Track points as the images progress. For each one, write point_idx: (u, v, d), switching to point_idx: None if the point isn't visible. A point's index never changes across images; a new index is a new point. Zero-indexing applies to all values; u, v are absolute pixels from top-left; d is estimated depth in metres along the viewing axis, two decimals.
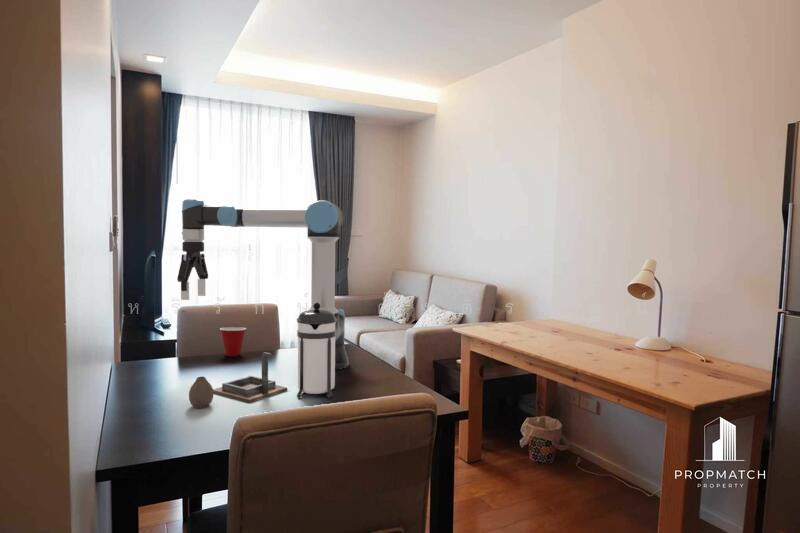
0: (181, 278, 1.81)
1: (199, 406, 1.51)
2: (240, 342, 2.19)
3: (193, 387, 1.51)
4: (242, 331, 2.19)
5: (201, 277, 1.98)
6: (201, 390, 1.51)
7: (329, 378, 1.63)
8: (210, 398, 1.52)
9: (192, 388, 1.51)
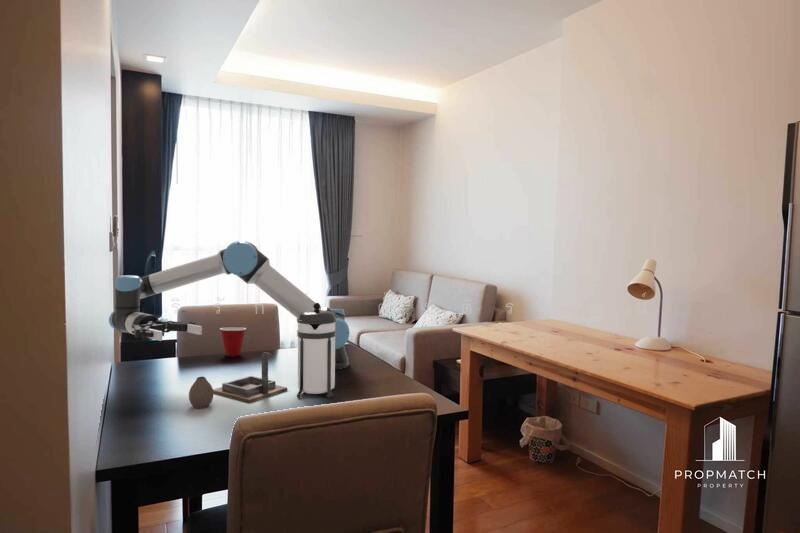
0: (135, 332, 1.54)
1: (199, 406, 1.51)
2: (240, 342, 2.19)
3: (193, 387, 1.51)
4: (242, 331, 2.19)
5: None
6: (201, 390, 1.51)
7: (329, 378, 1.63)
8: (210, 398, 1.52)
9: (192, 388, 1.51)
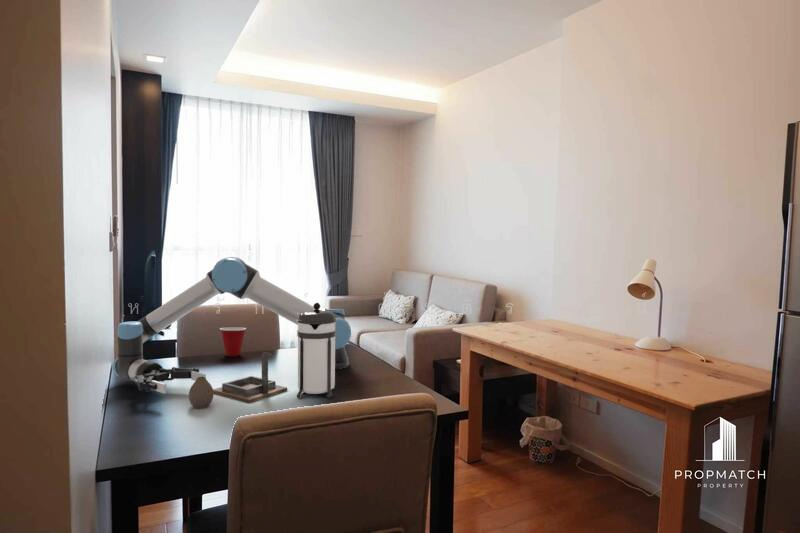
0: (139, 385, 1.53)
1: (199, 406, 1.51)
2: (240, 342, 2.19)
3: (193, 387, 1.51)
4: (242, 331, 2.19)
5: None
6: (201, 390, 1.51)
7: (329, 378, 1.63)
8: (210, 398, 1.52)
9: (192, 388, 1.51)
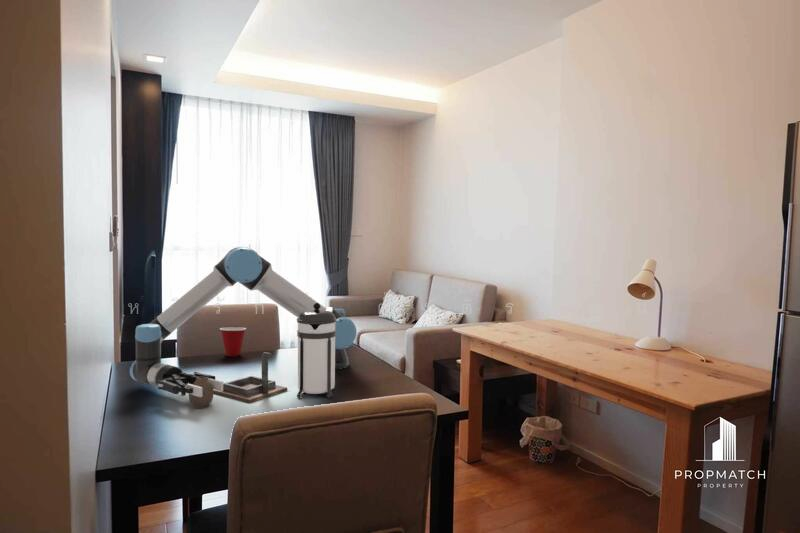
0: (174, 389, 1.49)
1: (199, 406, 1.51)
2: (240, 342, 2.19)
3: None
4: (242, 331, 2.19)
5: None
6: None
7: (329, 378, 1.63)
8: (210, 397, 1.52)
9: None
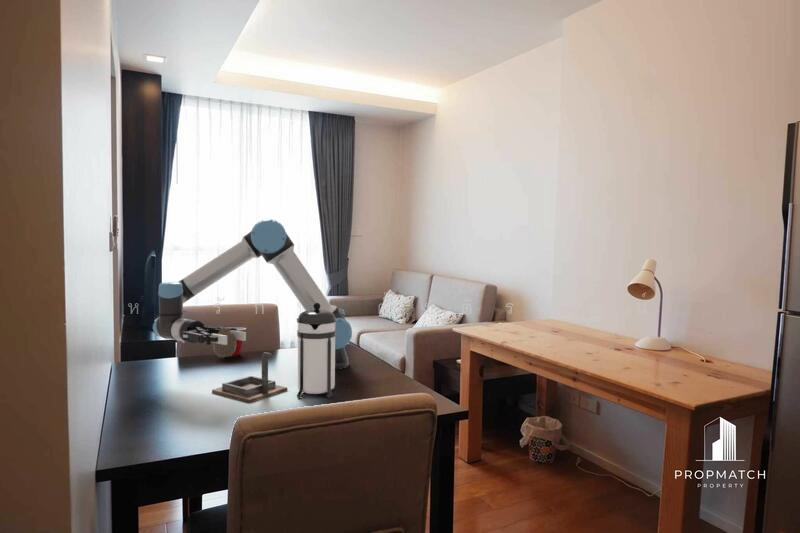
0: (200, 338, 1.57)
1: (223, 355, 1.59)
2: (240, 342, 2.19)
3: None
4: (242, 331, 2.19)
5: None
6: None
7: (329, 378, 1.63)
8: (233, 347, 1.60)
9: None
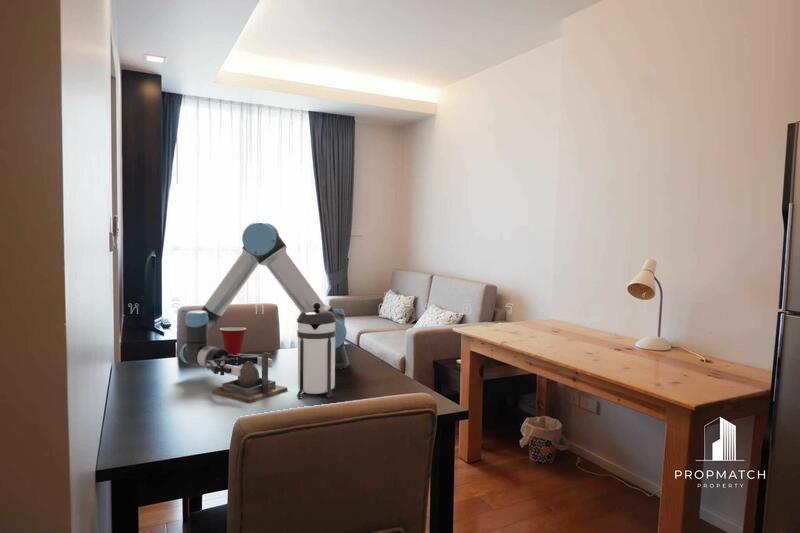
0: (214, 369, 1.63)
1: (247, 388, 1.66)
2: (240, 342, 2.19)
3: (242, 371, 1.67)
4: (242, 331, 2.19)
5: None
6: (249, 373, 1.66)
7: (329, 378, 1.63)
8: (257, 380, 1.68)
9: (241, 371, 1.66)
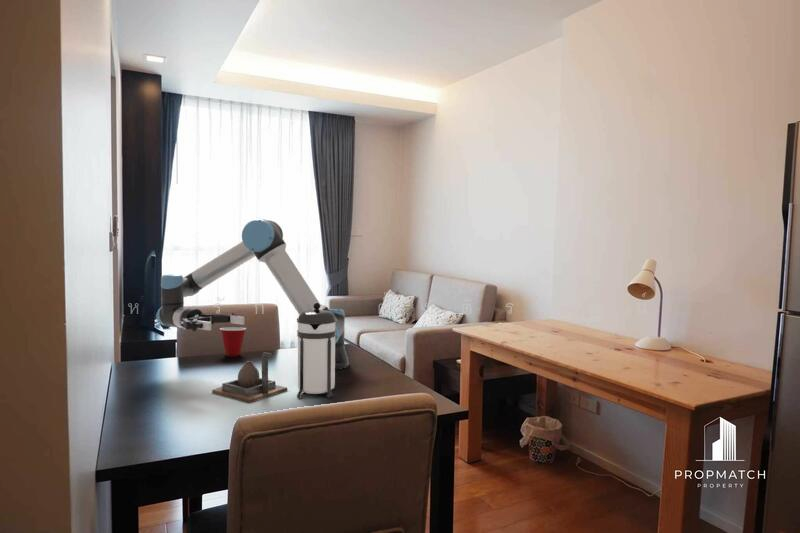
0: (186, 324, 1.69)
1: (247, 388, 1.66)
2: (240, 342, 2.19)
3: (242, 371, 1.67)
4: (242, 331, 2.19)
5: None
6: (249, 373, 1.66)
7: (329, 378, 1.63)
8: (257, 380, 1.68)
9: (241, 371, 1.66)
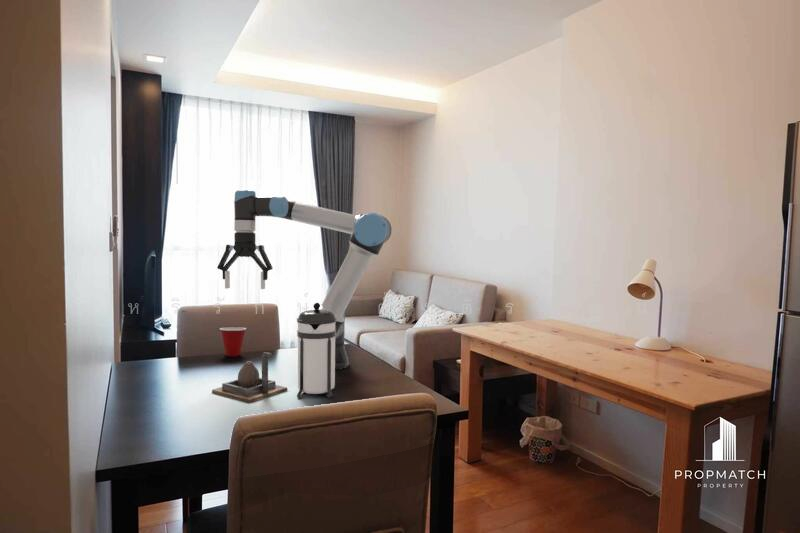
0: None
1: (247, 388, 1.66)
2: (240, 342, 2.19)
3: (242, 371, 1.67)
4: (242, 331, 2.19)
5: None
6: (249, 373, 1.66)
7: (329, 378, 1.63)
8: (257, 380, 1.68)
9: (241, 371, 1.66)
